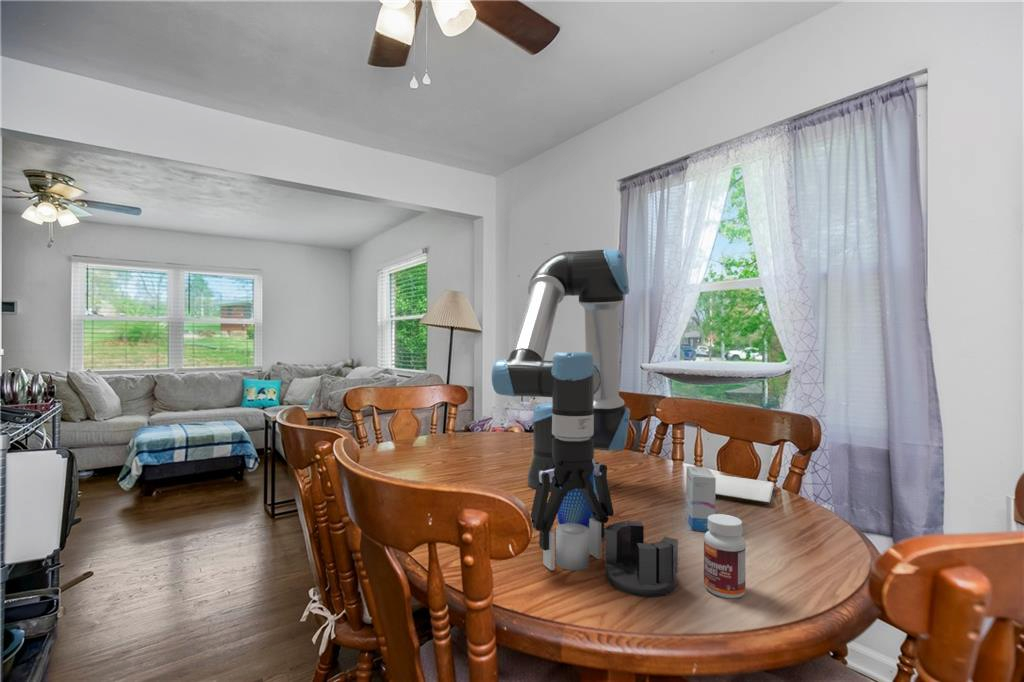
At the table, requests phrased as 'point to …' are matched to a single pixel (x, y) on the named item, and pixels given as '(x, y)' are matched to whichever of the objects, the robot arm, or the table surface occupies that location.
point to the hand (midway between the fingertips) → (572, 561)
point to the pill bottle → (724, 556)
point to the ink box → (699, 497)
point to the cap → (572, 546)
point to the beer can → (576, 507)
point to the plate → (743, 489)
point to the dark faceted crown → (639, 561)
